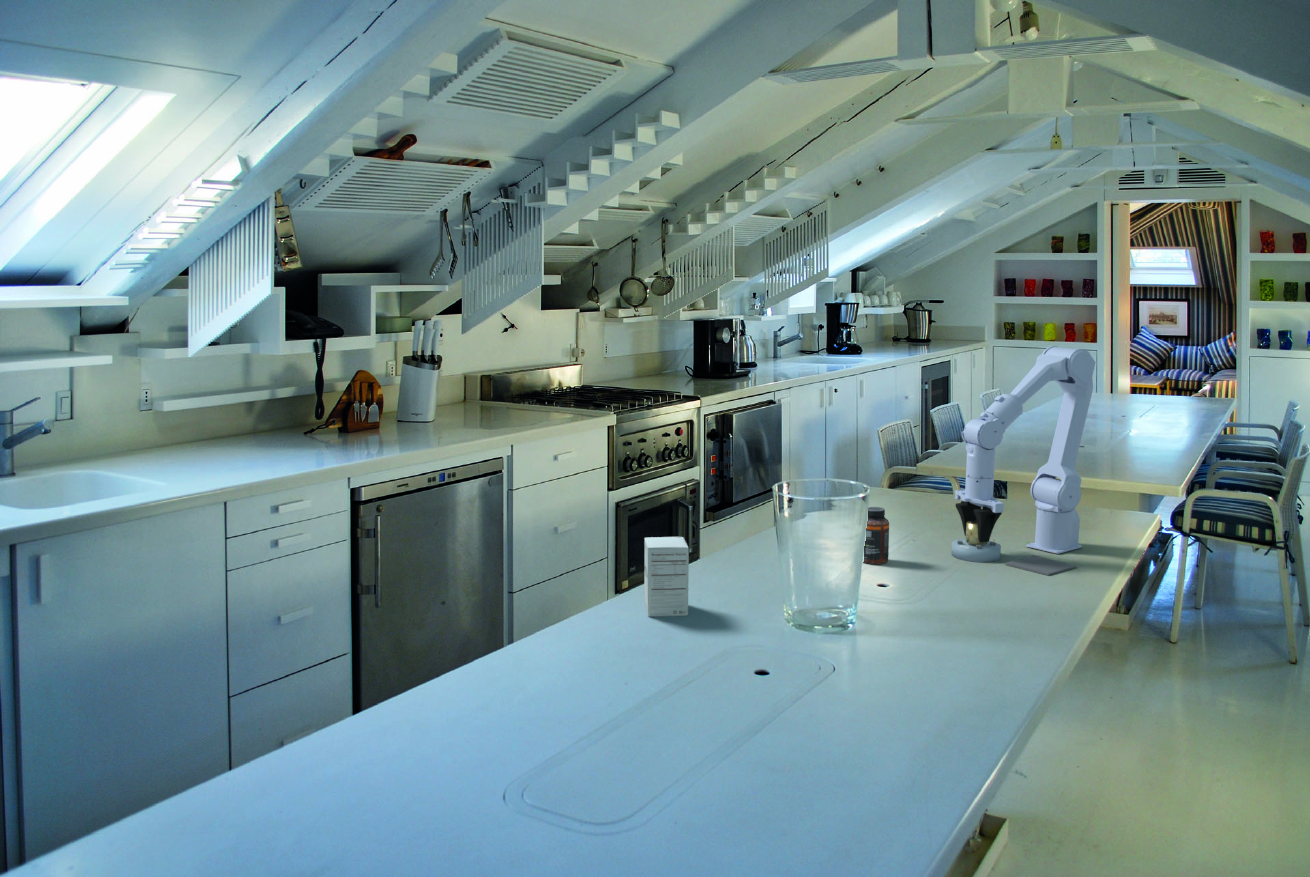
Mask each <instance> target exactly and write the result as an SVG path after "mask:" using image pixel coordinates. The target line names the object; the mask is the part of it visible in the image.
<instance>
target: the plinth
mask: <svg viewBox="0 0 1310 877" xmlns="http://www.w3.org/2000/svg"><path fill="white" fill-rule="evenodd" d="M1001 549H1002V546H1001V544H1000V543H999V542H998V543H997V542H996V541H992V540H989V542H988V543H987V544H984V545H975V544H969V543H967V542H966V538H960V539H955V540H953V541H952V542H951V556H952V557H953V558H955V559H958V560H960V561H961V560H962V561H966V562H975V563H991V562H996V561H1000V559H1001Z"/></svg>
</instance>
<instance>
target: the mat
mask: <svg viewBox="0 0 1310 877" xmlns="http://www.w3.org/2000/svg"><path fill="white" fill-rule="evenodd" d="M1004 565H1005V566H1009V567H1013V568H1015V569H1016V568H1017V569H1019V570H1020V569H1021V570H1024V571H1028V572H1032V573H1036V574H1040V575H1043V576H1048V577H1049V576H1052V575H1057V574H1060V573H1063V572H1066V571H1070V570H1073V569H1076V568H1077V565H1075V564H1071V563H1067V562H1062V561H1058V560H1054V559H1050V558H1046V557H1041V556H1037V555H1030V556H1027V557H1023V558H1019V559H1015V560H1011V561H1008V562H1005V564H1004Z"/></svg>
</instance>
